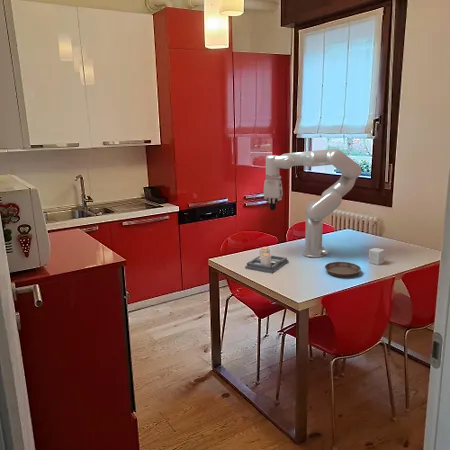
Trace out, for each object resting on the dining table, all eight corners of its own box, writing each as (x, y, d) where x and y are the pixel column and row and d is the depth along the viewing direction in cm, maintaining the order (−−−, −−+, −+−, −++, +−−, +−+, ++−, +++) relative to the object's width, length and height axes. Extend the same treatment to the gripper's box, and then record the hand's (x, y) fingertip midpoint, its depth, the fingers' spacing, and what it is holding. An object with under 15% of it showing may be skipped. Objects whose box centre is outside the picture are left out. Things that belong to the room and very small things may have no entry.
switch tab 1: (271, 265, 230) (271, 253, 229) (267, 267, 226) (267, 256, 225) (264, 264, 232) (264, 252, 231) (260, 266, 229) (260, 255, 227)
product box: (384, 262, 233) (385, 249, 231) (378, 265, 229) (379, 252, 227) (374, 260, 237) (374, 247, 236) (368, 262, 234) (368, 249, 232)
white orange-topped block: (270, 258, 241) (269, 247, 240) (266, 260, 238) (266, 249, 236) (263, 257, 244) (263, 246, 242) (259, 259, 240) (259, 248, 238)
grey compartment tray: (288, 262, 239) (288, 257, 238) (272, 273, 222) (271, 267, 222) (262, 258, 247) (262, 253, 246) (245, 268, 231) (245, 263, 230)
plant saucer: (361, 280, 210) (361, 274, 209) (323, 277, 215) (323, 272, 214) (360, 268, 226) (360, 262, 226) (325, 266, 231) (325, 260, 230)
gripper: (287, 177, 239) (287, 209, 244) (263, 176, 247) (264, 207, 252) (281, 179, 233) (281, 212, 238) (257, 177, 241) (258, 210, 246)
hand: (272, 209), depth 245 cm, fingers closed
